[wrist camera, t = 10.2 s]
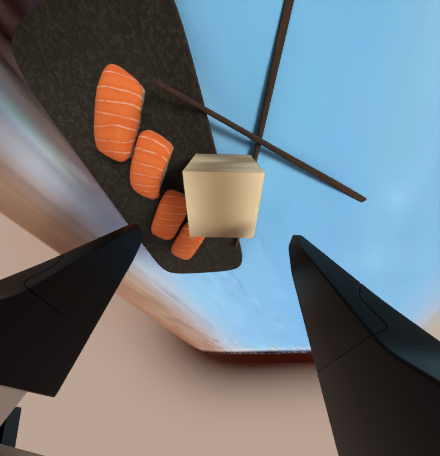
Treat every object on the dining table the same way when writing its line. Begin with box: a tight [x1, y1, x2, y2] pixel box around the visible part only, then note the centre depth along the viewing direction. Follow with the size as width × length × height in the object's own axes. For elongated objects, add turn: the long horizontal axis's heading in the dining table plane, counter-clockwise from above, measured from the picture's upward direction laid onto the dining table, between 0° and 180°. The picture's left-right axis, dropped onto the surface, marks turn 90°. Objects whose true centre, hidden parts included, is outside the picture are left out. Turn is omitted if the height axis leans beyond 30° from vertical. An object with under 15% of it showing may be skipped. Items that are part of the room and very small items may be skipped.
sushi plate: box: [12, 0, 366, 274], centre depth 16 cm, size 29×30×4 cm
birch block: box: [183, 154, 265, 238], centre depth 13 cm, size 5×5×6 cm
